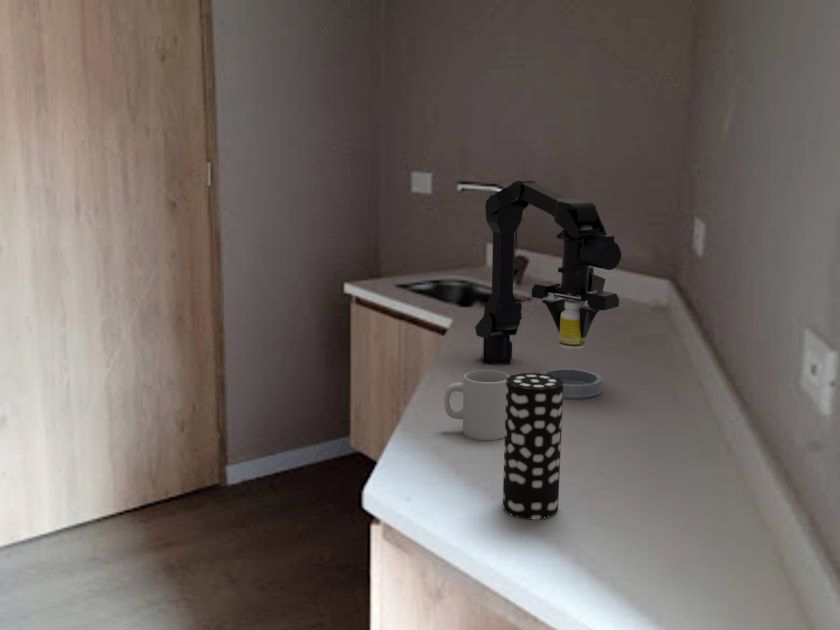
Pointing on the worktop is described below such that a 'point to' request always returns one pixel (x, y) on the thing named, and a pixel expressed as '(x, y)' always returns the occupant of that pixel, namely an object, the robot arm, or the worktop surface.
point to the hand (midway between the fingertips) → (572, 335)
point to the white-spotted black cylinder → (532, 444)
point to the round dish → (578, 383)
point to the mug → (481, 404)
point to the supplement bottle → (571, 326)
